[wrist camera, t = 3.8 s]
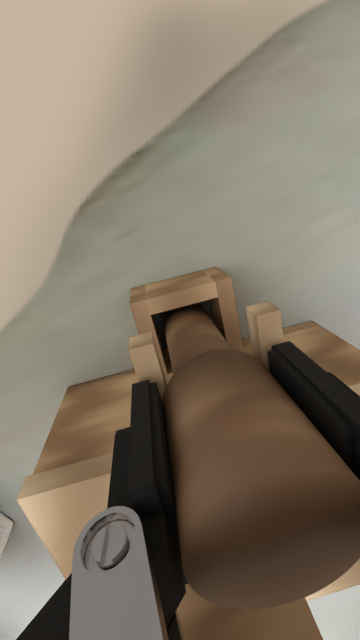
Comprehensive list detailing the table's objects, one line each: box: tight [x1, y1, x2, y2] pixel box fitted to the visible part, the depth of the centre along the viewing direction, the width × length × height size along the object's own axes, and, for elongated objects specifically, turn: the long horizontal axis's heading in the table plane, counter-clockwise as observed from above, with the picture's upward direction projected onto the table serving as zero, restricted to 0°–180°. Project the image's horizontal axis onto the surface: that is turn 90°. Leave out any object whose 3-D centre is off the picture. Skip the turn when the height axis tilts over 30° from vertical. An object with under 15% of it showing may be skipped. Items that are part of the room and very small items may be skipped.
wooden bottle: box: [162, 302, 360, 610], centre depth 12 cm, size 4×4×13 cm
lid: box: [17, 301, 360, 640], centre depth 11 cm, size 16×17×7 cm
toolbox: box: [33, 267, 360, 475], centre depth 16 cm, size 16×17×7 cm
